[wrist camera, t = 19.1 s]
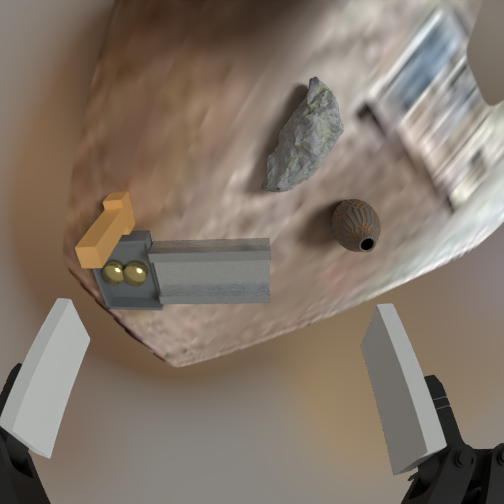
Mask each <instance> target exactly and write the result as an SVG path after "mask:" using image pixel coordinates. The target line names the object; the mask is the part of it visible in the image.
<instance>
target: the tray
mask: <svg viewBox="0 0 504 504" xmlns="http://www.w3.org/2000/svg"><path fill="white" fill-rule="evenodd" d="M151 246H152V240H151V235H150V230H149V231H131V233H130V234H127V235H122V236H121V238H120V239H119V241H118V243H117V244H116V246H115V248H114V249H113V251H112V253H111V254H110V256H109V258H108V259H107V261H106V263H107V262H108V261H109V260H118V261H120V262H122V263H123V264H124V265H125V267H126V265H127V264H128V262H130V261H132V260H138V261H141V262H143V263H144V264H145V265H146V266H147V268H148V271H149V272H148V276H147V278H146V281H145V283H144V284H143V285H142V286H139V287H135V286H132V285H130V284H128V283H127V282H126V281H125V280H123V282H122V284H120V285H117V286H114V285H111V284H109V283H107V282H106V281H105V280H104V279H103V277H102V270H103V269H104V267H105V265H106V263H105V265H104V266H103V268H92V270H93V272H94V275H95V278H96V280H97V283H98V286H99V288H100V291H101V294H102V296H103V299H104V301H105V304H106V306H107V308H108V309H127V310H162V309H163V305H164V304H161V303H160V299H159V295H160V291H161V290H160V286H159V282H158V278H157V274H156V270H155V266H154V263H150V260H149V256H148V253H149V251H150V248H151Z"/></svg>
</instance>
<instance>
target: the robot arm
mask: <svg viewBox="0 0 504 504" xmlns="http://www.w3.org/2000/svg"><path fill="white" fill-rule="evenodd" d="M89 342H90V338H89V336H88V334H87V332H86V330H85V328H84V326H83V324H82V322H81V320H80V318H79V316H78V314H77V312H76V310H75V307H74V305H73V303H72V301H71V299H62V298H58V299H57V301H56V302H55V304H54V306H53V307H52V309H51V311H50V313H49V314H48V316H47V318H46V320H45V322H44V323H43V325H42V327H41V329H40V331H39V333H38V335H37V337H36V339H35V340H34V342H33V344H32V347H31V349H30V350H29V352H28V354H27V357H26V359H25V361H24V363H23V364H20V363H18V364H17V365H16V366H15V367H14V368H13V369H12V370H11V372H10V374H9V376H8V378H7V380H6V384H5V385H4V387H3V391H2V392H1V395H0V504H51V503H50V501H49V499H48V497H47V495H46V493H45V490H44V488H43V486H42V484H41V481H40V479H39V477H38V474H37V471H36V469H35V466H34V464H33V461H32V458H31V456H30V454H29V453H28V449H29V448H30V449H31V450H32V451H34V452H35V453H37V454H39V455H42V456H44V457H47V458H50V457H51V453H52V450H53V446H54V443H55V439H56V436H57V432H58V429H59V426H60V422H61V419H62V416H63V413H64V409H65V407H66V404H67V401H68V398H69V395H70V392H71V389H72V386H73V384H74V381H75V378H76V375H77V373H78V370H79V367H80V365H81V362H82V359H83V357H84V354H85V352H86V349H87V347H88V344H89ZM360 346H361V350H362V353H363V356H364V360H365V363H366V367H367V370H368V374H369V377H370V381H371V385H372V388H373V392H374V396H375V399H376V403H377V407H378V411H379V414H380V419H381V423H382V427H383V431H384V436H385V440H386V444H387V449H388V453H389V457H390V462H391V467H392V472H393V475H397V474H401V473H405V472H408V471H411V470H413V469H414V468H416V467H417V466H418V472H416V473H415V474H413V475H412V476H410V478H409V479H408V481H411V480H412V479H414V480H413V482H412V484H411V486H410V488H409V490H408V491H407V493H406V495H405V497H404V499H403V500H402V502H401V504H504V443H501V444H499V445H498V446H496V447H495V448H494V449H473V448H472V447H470V446H469V445H467V444H465V443H464V442H463V440H462V438H461V435H460V432H459V429H458V426H457V423H456V420H455V417H454V414H453V412H452V409H451V407H450V403H449V401H448V398H446V396H447V395H446V393H445V390H444V388H443V385H442V383H441V382H440V381H439V380H438V379H437V378H436V376H435V375H430V376H426V377H423V374H422V371H421V369H420V366H419V364H418V361H417V359H416V356H415V354H414V351H413V349H412V347H411V344H410V342H409V339H408V337H407V335H406V332H405V330H404V328H403V325H402V323H401V321H400V319H399V317H398V314H397V312H396V310H395V308H394V305H393V304H377V305H376V308H375V311H374V313H373V316H372V318H371V321H370V323H369V326H368V328H367V331H366V333H365V336H364V338H363V341H362V343H361V345H360Z"/></svg>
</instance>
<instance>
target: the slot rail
mask: <svg viewBox="0 0 504 504" xmlns="http://www.w3.org/2000/svg"><path fill="white" fill-rule="evenodd" d="M148 256H149V260H150V263H154V266H155V270H156V274H157V278H158V282H159V286H160V290H161V291H160V295H159V299H160V303H161V304H236V303H270V291H269V279H270V260H271V248H270V240H269V238H252V239H215V240H182V241H154V242H153V244H152V246H151V248H150V251H149V253H148Z"/></svg>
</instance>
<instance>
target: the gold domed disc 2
mask: <svg viewBox="0 0 504 504" xmlns="http://www.w3.org/2000/svg"><path fill="white" fill-rule="evenodd" d="M148 272H149V271H148V268H147V266H146V265H145V264H144V263H143V262H141V261H138V260H132V261H130V262H128V264H127V265H126V268H125V270H124V272H123V278H124V280H125V281H126V282H127V283H128V284H130V285H132V286H135V287H139V286H142V285H143V284H144V283H145V281H146V278H147V276H148Z"/></svg>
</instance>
